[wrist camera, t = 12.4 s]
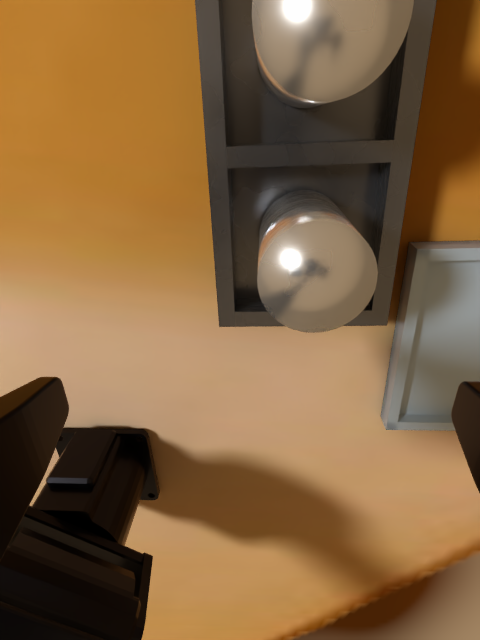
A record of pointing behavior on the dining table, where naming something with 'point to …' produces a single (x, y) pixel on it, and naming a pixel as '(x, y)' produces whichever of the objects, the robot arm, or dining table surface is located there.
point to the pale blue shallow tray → (434, 335)
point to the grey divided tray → (303, 154)
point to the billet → (313, 264)
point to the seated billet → (326, 46)
